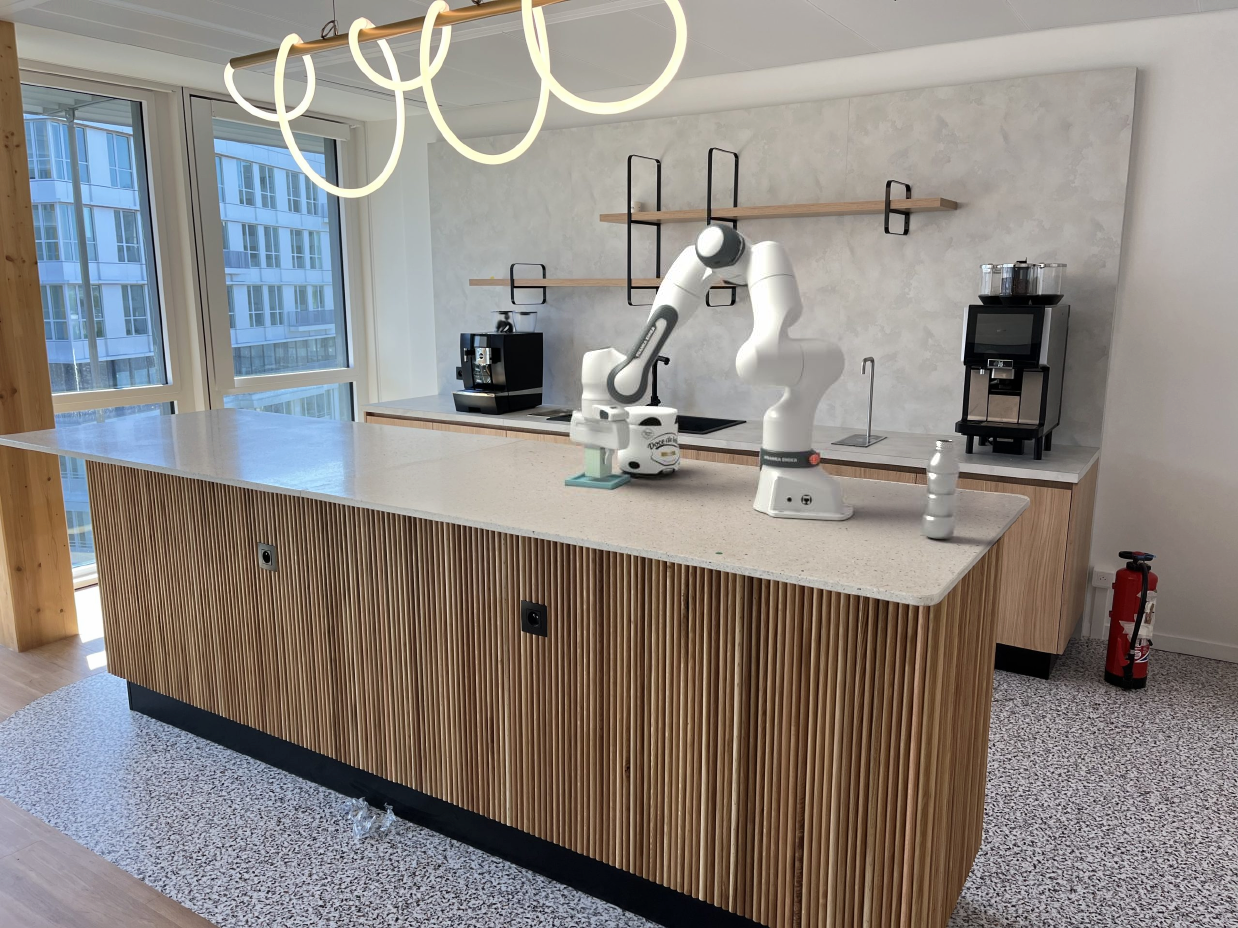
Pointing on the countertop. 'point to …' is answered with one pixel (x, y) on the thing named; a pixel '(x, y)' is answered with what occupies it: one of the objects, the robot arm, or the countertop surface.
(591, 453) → the tea tin
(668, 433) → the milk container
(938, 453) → the plastic bottle
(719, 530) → the countertop surface
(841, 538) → the countertop surface
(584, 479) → the tray
